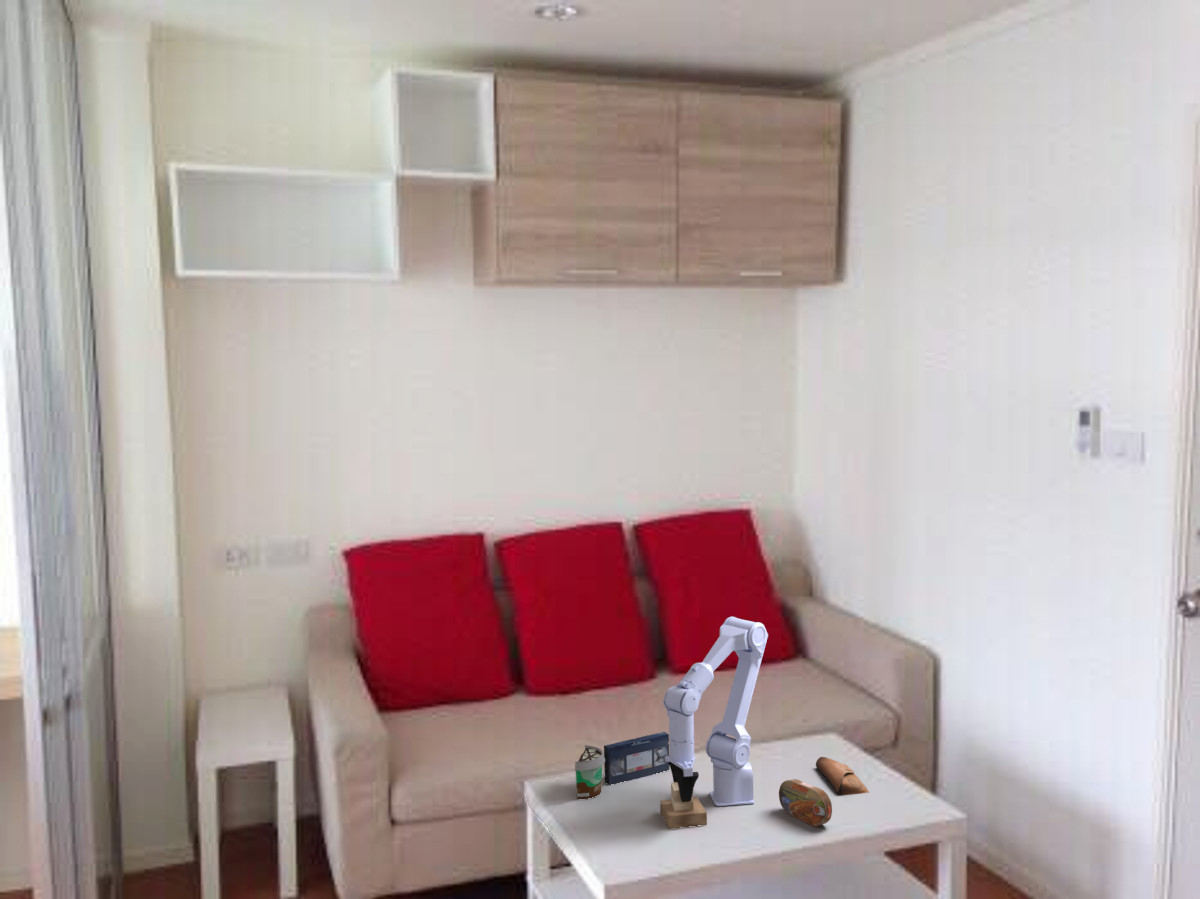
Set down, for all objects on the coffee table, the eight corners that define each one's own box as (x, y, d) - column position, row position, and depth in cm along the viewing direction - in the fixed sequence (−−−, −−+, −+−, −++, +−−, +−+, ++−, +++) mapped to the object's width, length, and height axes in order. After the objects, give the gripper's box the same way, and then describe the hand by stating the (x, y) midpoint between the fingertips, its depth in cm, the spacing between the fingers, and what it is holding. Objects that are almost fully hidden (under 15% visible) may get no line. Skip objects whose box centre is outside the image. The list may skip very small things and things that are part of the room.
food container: (600, 803, 270) (599, 763, 269) (575, 802, 271) (574, 762, 270) (610, 783, 282) (609, 745, 281) (586, 782, 283) (585, 744, 282)
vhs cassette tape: (608, 786, 280) (607, 748, 279) (603, 782, 283) (602, 744, 282) (670, 771, 289) (670, 734, 288) (665, 768, 291) (664, 731, 290)
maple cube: (690, 801, 262) (689, 781, 261) (693, 810, 257) (693, 789, 257) (671, 802, 261) (671, 782, 261) (674, 811, 257) (674, 790, 256)
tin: (777, 810, 263) (777, 776, 263) (787, 806, 265) (787, 772, 264) (824, 832, 251) (824, 796, 250) (834, 828, 253) (834, 792, 252)
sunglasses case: (872, 792, 272) (858, 771, 271) (848, 809, 271) (835, 787, 270) (846, 765, 289) (833, 745, 288) (824, 780, 289) (811, 760, 288)
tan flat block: (697, 811, 265) (697, 797, 265) (707, 827, 256) (706, 812, 256) (660, 814, 264) (660, 800, 263) (668, 830, 255) (668, 816, 254)
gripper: (659, 728, 265) (660, 783, 266) (670, 750, 250) (671, 808, 252) (688, 726, 265) (689, 781, 267) (701, 748, 251) (702, 806, 252)
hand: (682, 794), depth 259 cm, fingers open, 7 cm apart
